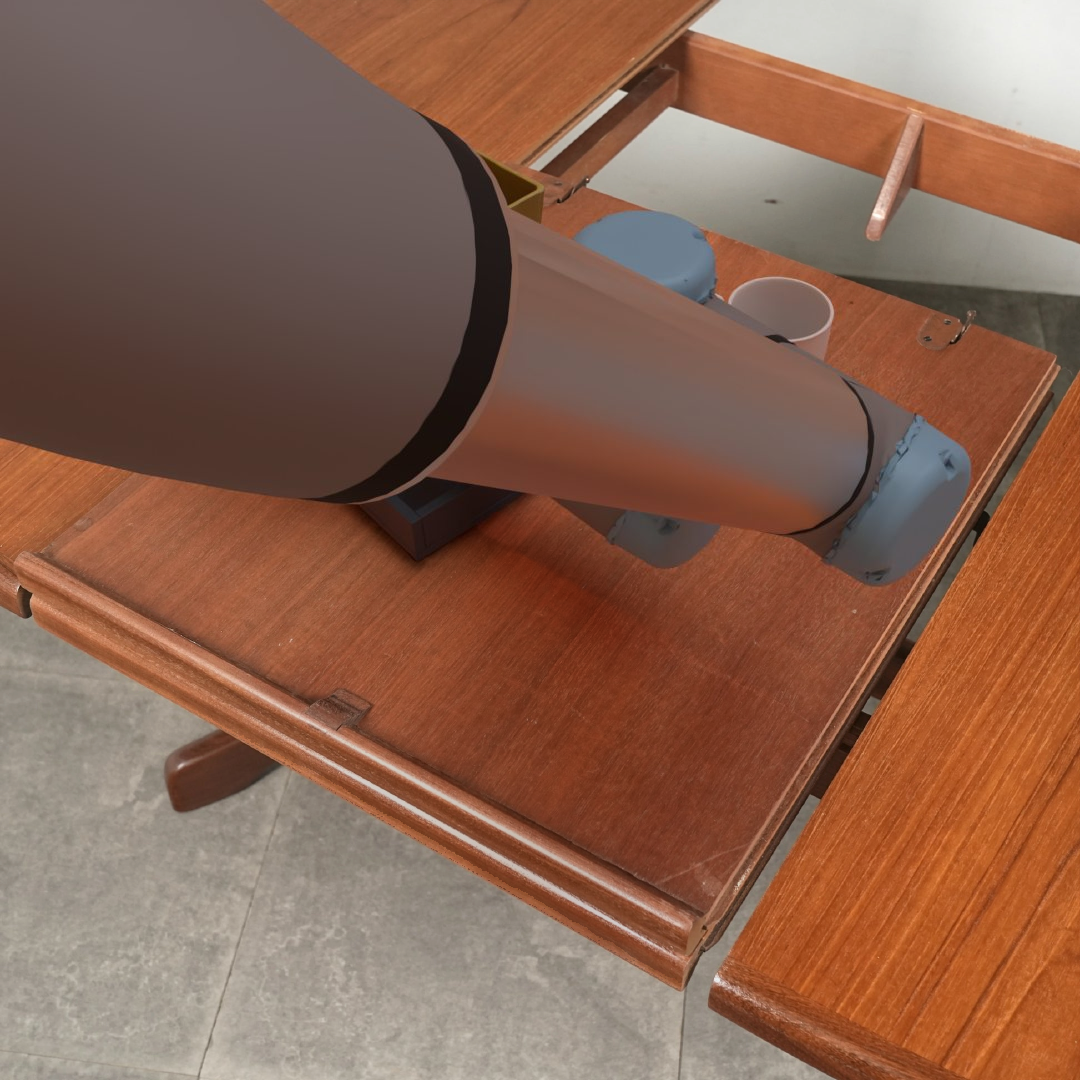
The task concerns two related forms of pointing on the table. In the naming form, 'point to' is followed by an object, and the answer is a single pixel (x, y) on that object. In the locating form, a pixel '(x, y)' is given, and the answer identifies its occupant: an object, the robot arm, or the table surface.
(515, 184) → the flower pot
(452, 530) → the tray
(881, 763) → the table surface
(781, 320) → the mug
